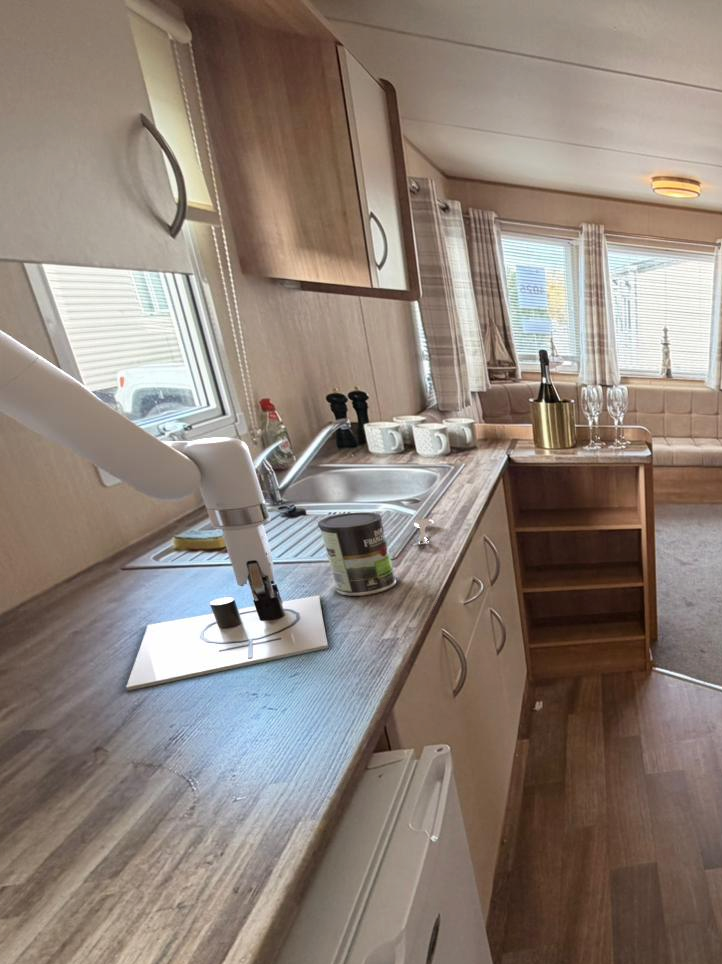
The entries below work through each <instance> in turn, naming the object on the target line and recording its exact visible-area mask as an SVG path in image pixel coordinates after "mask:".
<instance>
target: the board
mask: <svg viewBox="0 0 722 964" xmlns="http://www.w3.org/2000/svg"><path fill="white" fill-rule="evenodd" d="M282 606H283V609H284V612H285V616H284V617H282V618H280V619H276V620H270V621H261V620H260V619H259V616H258V613H257V610H256V607H255V605H254V606H249V607H243V608H238V611H239V614H240V617H241V620H242V624H241V625H239V626H236V627H233V628H227V629H221V628H219V627H218V625H217V622H216V619H215V617H214V614H213V613H208V614H201V615H197V616H192V617H186V618H179V619H174V620H168V621H162V622H156V623H152V624H147V625H146V629H145V632H144V635H143V638H142V641H141V644H140V647H139V650H138V651H137V655H136V657H135V659H134V663H133V667H132V669H131V672H130V675H129V678H128V680H127V684H126V685H125V689H126V691H128V692H129V691H133V690H134V691H135V690H137V689H143V688H147V687H152V686H156V685H161V684H166V683H171V682H175V681H181V680H185V679H190V678H194V677H195V678H196V677H199V676H204V675H209V674H213V673H218V672H223V671H227V670H232V669H236V668H242V667H247V666H250V665H256V664H260V663H264V662H265V663H266V662H269V661H274V660H279V659H284V658H288V657H293V656H297V655H298V656H299V655H302V654H308V653H311V652H317V651H322V650H326V649H329V644H328V639H327V632H326V627H325V622H324V617H323V609H322V602H321V598H320V595H318V594H317V595H313V596H312V595H311V596H306V597H300V598H295V599H290V600H289V599H288V600H282Z"/></svg>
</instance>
